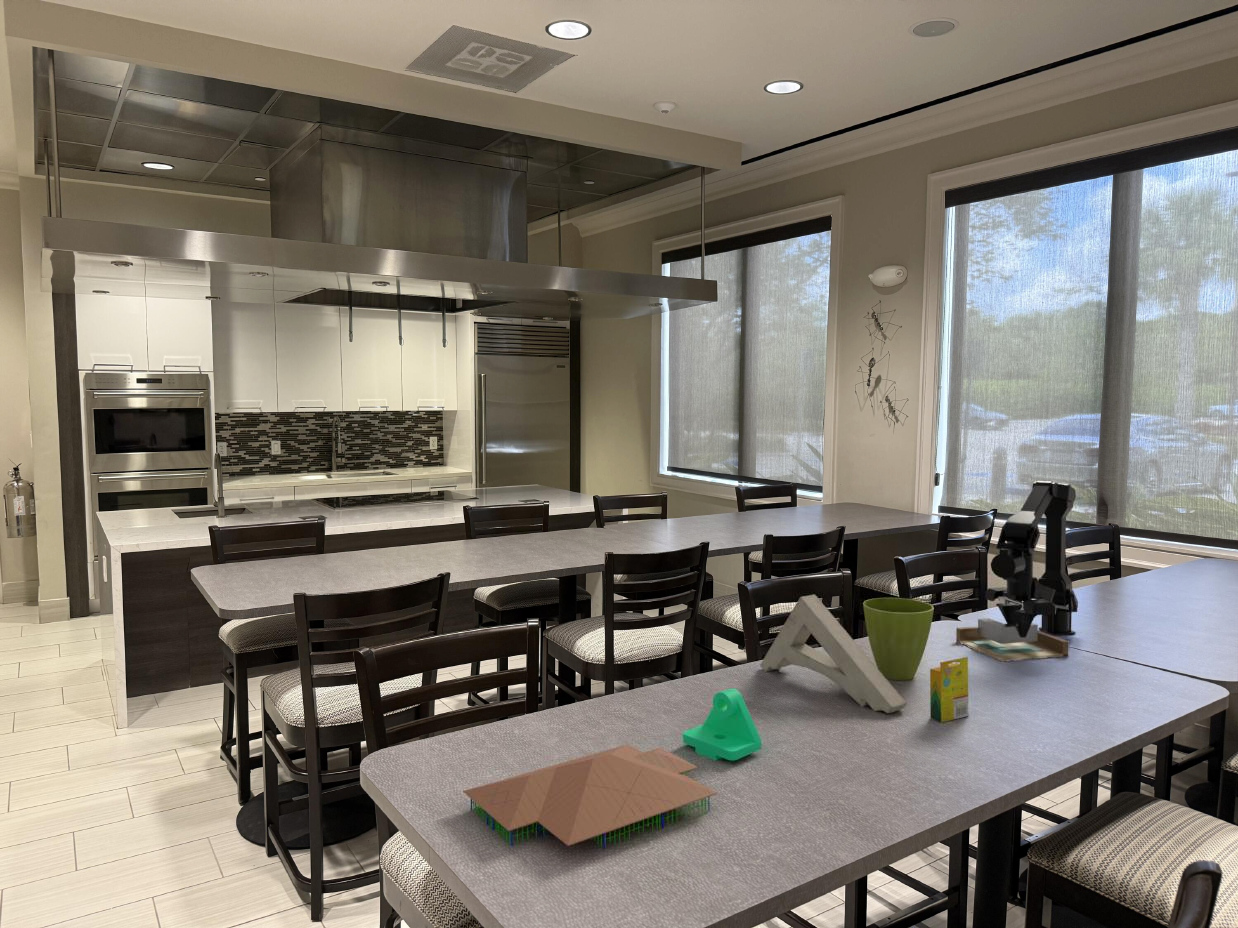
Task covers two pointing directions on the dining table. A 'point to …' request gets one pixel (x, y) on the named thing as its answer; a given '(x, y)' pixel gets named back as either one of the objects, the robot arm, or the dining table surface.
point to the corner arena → (1013, 646)
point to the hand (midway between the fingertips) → (1018, 635)
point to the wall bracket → (831, 656)
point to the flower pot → (898, 634)
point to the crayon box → (949, 690)
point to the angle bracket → (1005, 632)
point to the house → (592, 794)
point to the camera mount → (725, 729)
